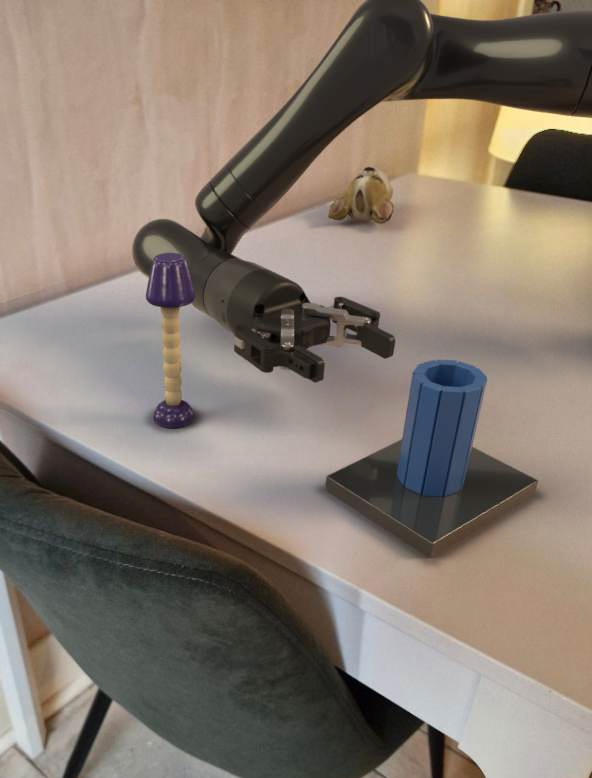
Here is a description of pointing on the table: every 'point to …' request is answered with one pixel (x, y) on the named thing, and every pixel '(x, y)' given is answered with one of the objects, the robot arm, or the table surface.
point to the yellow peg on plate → (430, 498)
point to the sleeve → (440, 426)
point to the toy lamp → (171, 332)
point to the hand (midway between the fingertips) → (357, 360)
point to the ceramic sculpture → (365, 198)
